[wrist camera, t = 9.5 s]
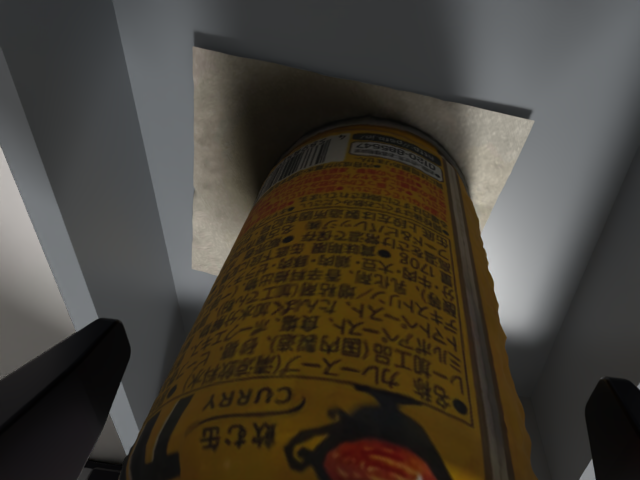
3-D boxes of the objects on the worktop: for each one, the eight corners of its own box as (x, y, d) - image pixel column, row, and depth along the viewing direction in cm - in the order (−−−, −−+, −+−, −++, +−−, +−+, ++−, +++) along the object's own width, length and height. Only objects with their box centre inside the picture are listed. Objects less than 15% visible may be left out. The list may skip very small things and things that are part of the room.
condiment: (438, 322, 16) (493, 975, 6) (193, 265, 16) (-130, 819, 6) (533, 116, 12) (1195, 1197, 2) (197, 42, 12) (-790, 695, 2)
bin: (540, 391, 19) (579, 527, 14) (183, 347, 20) (127, 458, 16) (795, -180, 9) (1125, -251, 5) (64, -175, 10) (-152, -226, 6)
